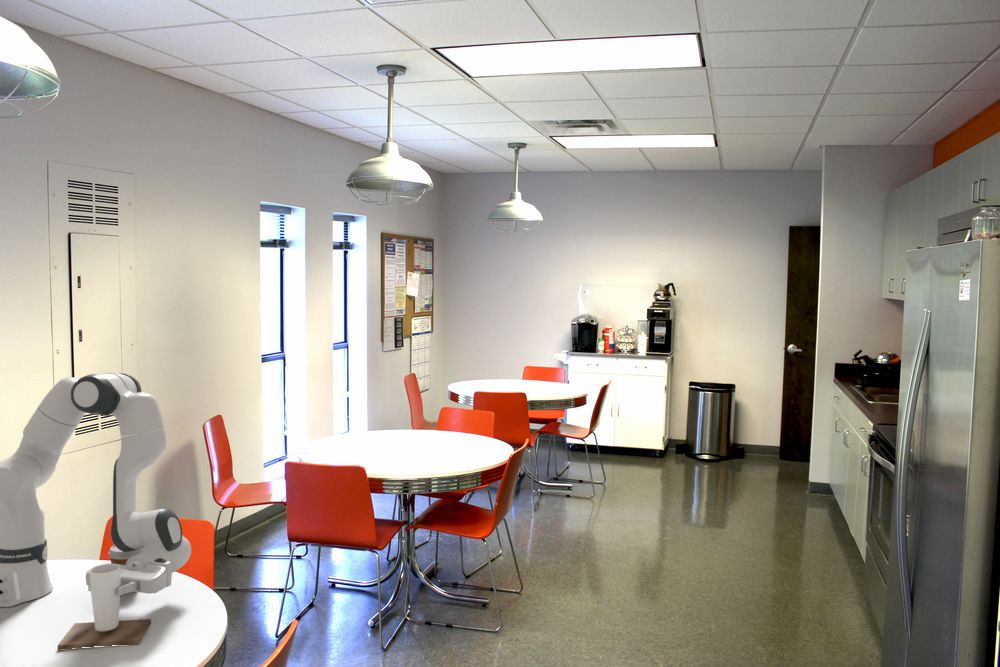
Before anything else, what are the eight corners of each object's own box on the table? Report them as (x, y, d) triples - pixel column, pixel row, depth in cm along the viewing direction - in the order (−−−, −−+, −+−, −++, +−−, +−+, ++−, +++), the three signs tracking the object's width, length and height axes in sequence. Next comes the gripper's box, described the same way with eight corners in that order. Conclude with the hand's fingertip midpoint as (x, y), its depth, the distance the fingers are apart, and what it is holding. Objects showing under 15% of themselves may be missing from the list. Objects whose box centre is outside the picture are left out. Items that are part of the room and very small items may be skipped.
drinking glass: (109, 635, 187) (107, 574, 186) (84, 632, 188) (83, 572, 187) (128, 623, 193) (126, 564, 192) (104, 620, 195) (103, 562, 194)
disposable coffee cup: (104, 595, 215) (104, 553, 214) (113, 582, 224) (113, 542, 223) (142, 593, 217) (141, 551, 216) (149, 580, 226) (148, 540, 225)
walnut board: (57, 650, 183) (57, 645, 183) (74, 627, 195) (74, 623, 195) (139, 644, 187) (139, 639, 187) (151, 623, 198) (151, 618, 198)
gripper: (108, 554, 205) (68, 573, 191) (176, 562, 200) (139, 582, 186) (109, 577, 205) (68, 598, 192) (176, 586, 200) (139, 607, 187)
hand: (103, 590), depth 189 cm, fingers closed on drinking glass, 6 cm apart
